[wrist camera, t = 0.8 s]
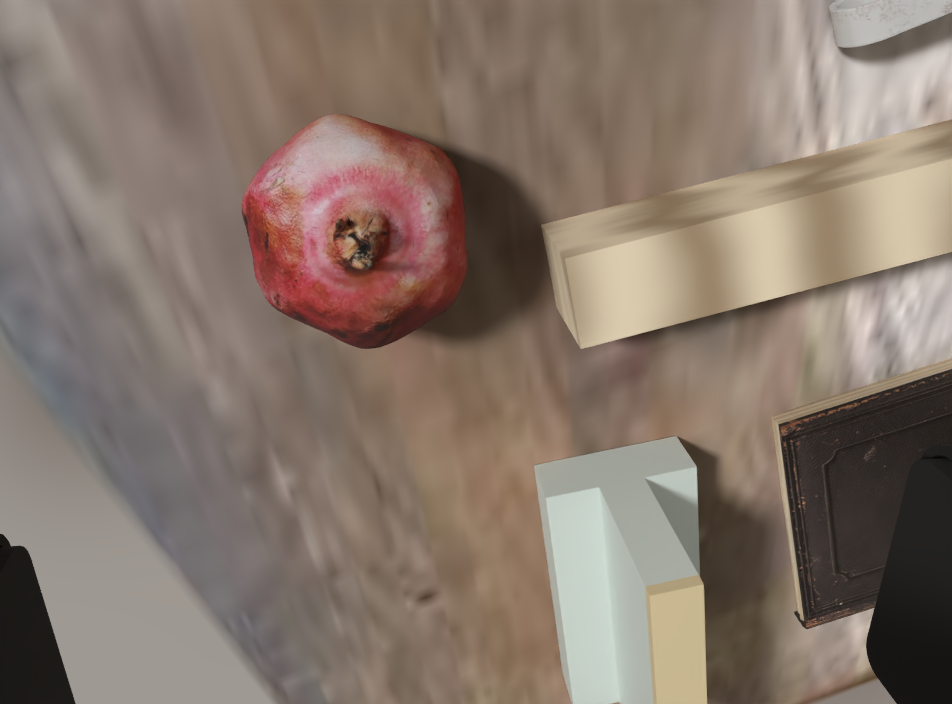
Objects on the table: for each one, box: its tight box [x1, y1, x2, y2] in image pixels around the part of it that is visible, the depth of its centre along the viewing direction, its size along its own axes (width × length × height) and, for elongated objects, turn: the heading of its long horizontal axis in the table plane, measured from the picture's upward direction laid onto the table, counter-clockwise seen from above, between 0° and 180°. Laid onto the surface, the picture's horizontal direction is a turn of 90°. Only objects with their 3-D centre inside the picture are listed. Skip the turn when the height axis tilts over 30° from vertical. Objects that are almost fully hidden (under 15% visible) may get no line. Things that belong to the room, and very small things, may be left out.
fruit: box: [242, 114, 467, 349], centre depth 33 cm, size 9×10×10 cm
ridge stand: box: [534, 436, 707, 704], centre depth 44 cm, size 16×8×11 cm, turn 9°
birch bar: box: [541, 120, 952, 349], centre depth 39 cm, size 24×4×5 cm, turn 103°
